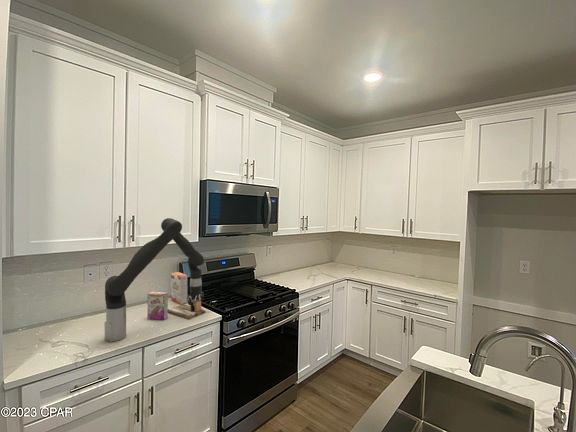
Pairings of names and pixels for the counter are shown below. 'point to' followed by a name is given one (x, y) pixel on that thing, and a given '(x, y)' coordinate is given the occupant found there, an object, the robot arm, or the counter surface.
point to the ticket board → (184, 312)
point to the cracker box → (179, 287)
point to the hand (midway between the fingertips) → (195, 309)
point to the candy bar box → (157, 305)
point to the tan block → (197, 305)
